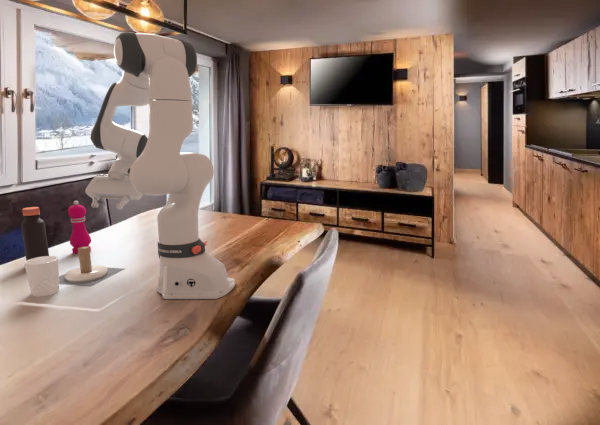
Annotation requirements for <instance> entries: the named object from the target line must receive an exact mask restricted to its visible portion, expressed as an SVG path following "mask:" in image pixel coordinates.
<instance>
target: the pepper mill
mask: <svg viewBox="0 0 600 425" xmlns="http://www.w3.org/2000/svg"><path fill="white" fill-rule="evenodd" d="M86 213H87V209H86V207H85V206H84V205H81V204H79V201H78V200H74V201H73V205H70V206H69V207H68V209H67V214H68V216H69V217H70V222H71V223H72V231H71V235H70V238H69V245H70V246H72V248H71V250H72V251H71V252H72V254H74V255H77V254H78V248H80V247H89V248H90V252H91V251H92V248H91V246H90V244H91V243H92V237H91V236H90V233H89V232H88V231H87V229H86V224H85V221H86V216H85V215H86Z"/></svg>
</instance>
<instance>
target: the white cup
mask: <svg viewBox="0 0 600 425" xmlns="http://www.w3.org/2000/svg"><path fill="white" fill-rule="evenodd" d="M24 267H25V273H26V277H27V282H28V286H29V288H30V294H31V296H32V297H37V298H38V297H39V298H40V297H46V296H51V295H54V294H56V293H57V292H59V291H60V284H59V276H60V271H59V258H58V257H57V256H55V255H49V256H43V257H37V258H33V259H29V260H27V261H26V260H25V261H24Z"/></svg>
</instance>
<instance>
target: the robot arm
mask: <svg viewBox="0 0 600 425" xmlns="http://www.w3.org/2000/svg"><path fill="white" fill-rule="evenodd" d="M113 55H114V58H115V61H116V65H117V66H118V67H119V69H121V70H122V76H121V78H120V80H119V81H115V82H114V81H113V82H112V83H111V85H109V87H108V88H107V92H106V94H105V97H104V99H103V101H102V103H101V107H100V109H99V112H98V116H97V119H96V121H95V124H94V125H93V127H92V130H91V133H90V141H91V142H92V144H93V145H94V146H95V148H96V149H99V150H103V151H107V152H111V153H113V154H116V155H117V157H116V159H115V160H114V161H113V163H112V165H111V167H110V169H109V170H108V172H107V174H98V175H96V176H94V177H93V178H92V179H91V181H90V182H89V183H88V185H86V186H87V187H86V188H85V194H86V195H87V197H90V199H92V202H91V203H90V204H91V205H90V206H91V207H92V208H93V209H98V208H99V206H100V203H99V202H98V201H100V199H105V200H106V199H107V200H120V201H119V202H117V203H116V205H115V207H116V209H117V210H123V209H124V206H125V205H127V204H128V203H129V202H130V201H139V200H140V199H142V198H143V196H144V195H145V196H164V195H168V198H167V201H166V203H165V205H164V206H163V207H162V208H161V209H160V210H159V211H158V213H157V215H156V216H157V217H156V223H157V234H158V241H157V255H158V259H159V271H158V272H159V274H158V275H159V276H158V282H157V287H156V291H157V292H158V293H159V294H161V295H162V299H165V300H215V299H216V300H217V299H220V298H222V297H224V296H227V294H229V293H231V291H232V290H233V289H234V288H235V286H236V280H235V278H233V277H232V278H231V277H228V271H227V269H226V266H225V265H224V263H223V262H221V261H220V260H218V259H217V258H215V257H214V256H213V255H212V254H210V253H209V252H208V251H206V246H207V245H208V241H207V240H206V241H204V242H203V241H202V240H201V238H200V235H199V209H200V203H201V202H202V196H203V194H204V192H205V191H206V188H207V187H208V185H209V184H210V183H211V182H212V180H213V177H214V172H215V171H214V165H213V162H212V161H211V159H210V158H209V157H208V156H207V155H206V154H202V153H198V152H193V151H188V152H186V151H185V152H181V149H182V145H183V143H184V141H185V139H186V138H188V137H189V136H190V135H191V134H192V132H193V129H194V121H193V120H194V119H193V99H192V98H193V97H192V96H193V95H192V89H191V81H190V78H191V77H192V76H193V75H194V73H195V72H196V69H197V66H198V65H197V64H198V54H197V52H196V50H195V47H194V46H193V44H191V42H189V41H186V40H183V39H175V38H171V37H168V36H163V35H159V34H154V33H145V32H144V33H141V32H139V33H138V32H137V33H135V32H134V31H126V32H125V31H124V32H119V34H118V35H117V37H116V38H115V41H114V45H113ZM147 105H148V106H149V110H148V111H149V130H148V132H149V133H148V136H147V135H146V134H144V133H143V132H140V131H137V130H135V129H131V128H128V127H125V126H123V125H120V124H117V123H115V122H114V121H113V119H114V116H115V114H116V111H117V107H144V106H147Z"/></svg>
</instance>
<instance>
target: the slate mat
mask: <svg viewBox="0 0 600 425" xmlns="http://www.w3.org/2000/svg"><path fill="white" fill-rule="evenodd" d="M107 270H108V273H107V275H105V276H104V277H101V278H99V279H96V280H91V281H86V282H69V281H66V280H65V273H64V274H62V275H59V285H67V286H78V287H79V286H80V287H93V286H95V285H97V284H99V283H100V282H102V281H104V280H107V279H108V278H110V277H112V276H114V275H117V274H118V273H120V272H122V271H123V270H125V268H121V267H120V268H119V267H107Z"/></svg>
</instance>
